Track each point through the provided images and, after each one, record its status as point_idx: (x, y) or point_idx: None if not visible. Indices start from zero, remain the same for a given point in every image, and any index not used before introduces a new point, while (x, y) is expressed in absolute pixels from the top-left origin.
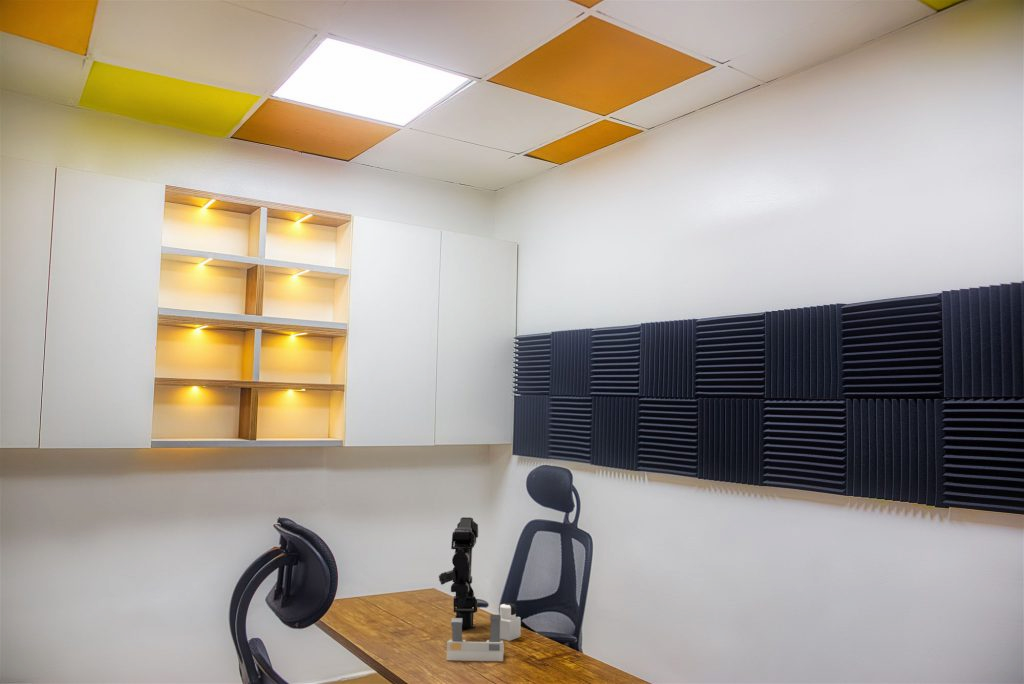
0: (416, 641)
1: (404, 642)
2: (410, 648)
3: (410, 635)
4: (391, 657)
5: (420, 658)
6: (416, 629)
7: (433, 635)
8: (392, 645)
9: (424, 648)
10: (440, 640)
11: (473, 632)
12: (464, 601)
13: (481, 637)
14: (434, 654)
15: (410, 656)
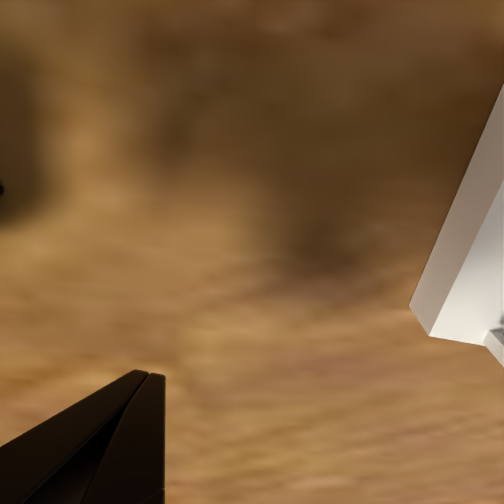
0: (210, 418)
1: (222, 455)
2: (309, 443)
3: None
4: (410, 501)
5: (464, 423)
6: (25, 405)
7: (113, 350)
8: (258, 489)
9: (321, 399)
10: (199, 327)
11: (23, 123)
12: (163, 448)
13: (137, 73)
14: (427, 370)
15: (421, 451)
